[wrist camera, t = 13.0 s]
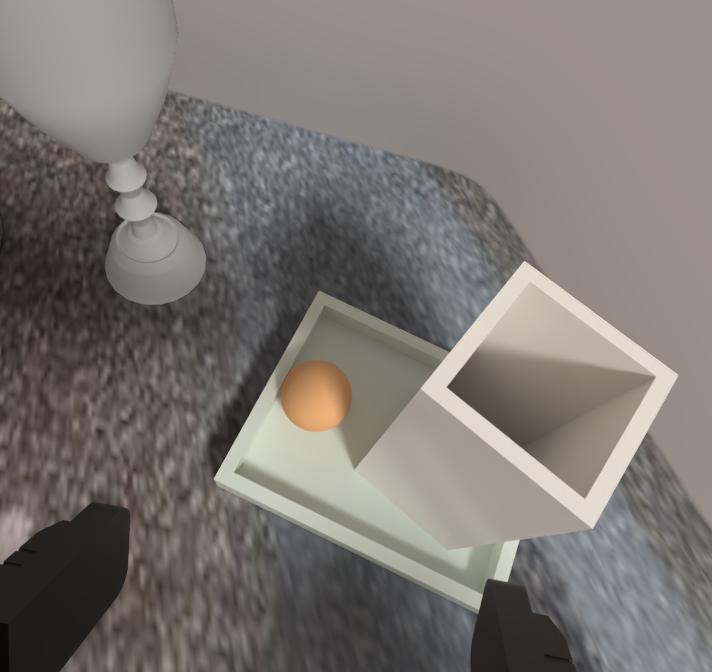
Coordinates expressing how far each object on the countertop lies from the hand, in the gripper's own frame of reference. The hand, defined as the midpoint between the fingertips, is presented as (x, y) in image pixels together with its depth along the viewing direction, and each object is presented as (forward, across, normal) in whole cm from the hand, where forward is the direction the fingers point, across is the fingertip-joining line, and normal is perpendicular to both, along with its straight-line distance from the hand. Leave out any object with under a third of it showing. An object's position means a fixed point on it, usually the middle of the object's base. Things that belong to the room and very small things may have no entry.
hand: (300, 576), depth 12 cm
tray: (+14, +2, -3) cm, 15 cm away
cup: (+14, +4, -3) cm, 15 cm away
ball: (+13, -2, -1) cm, 13 cm away
